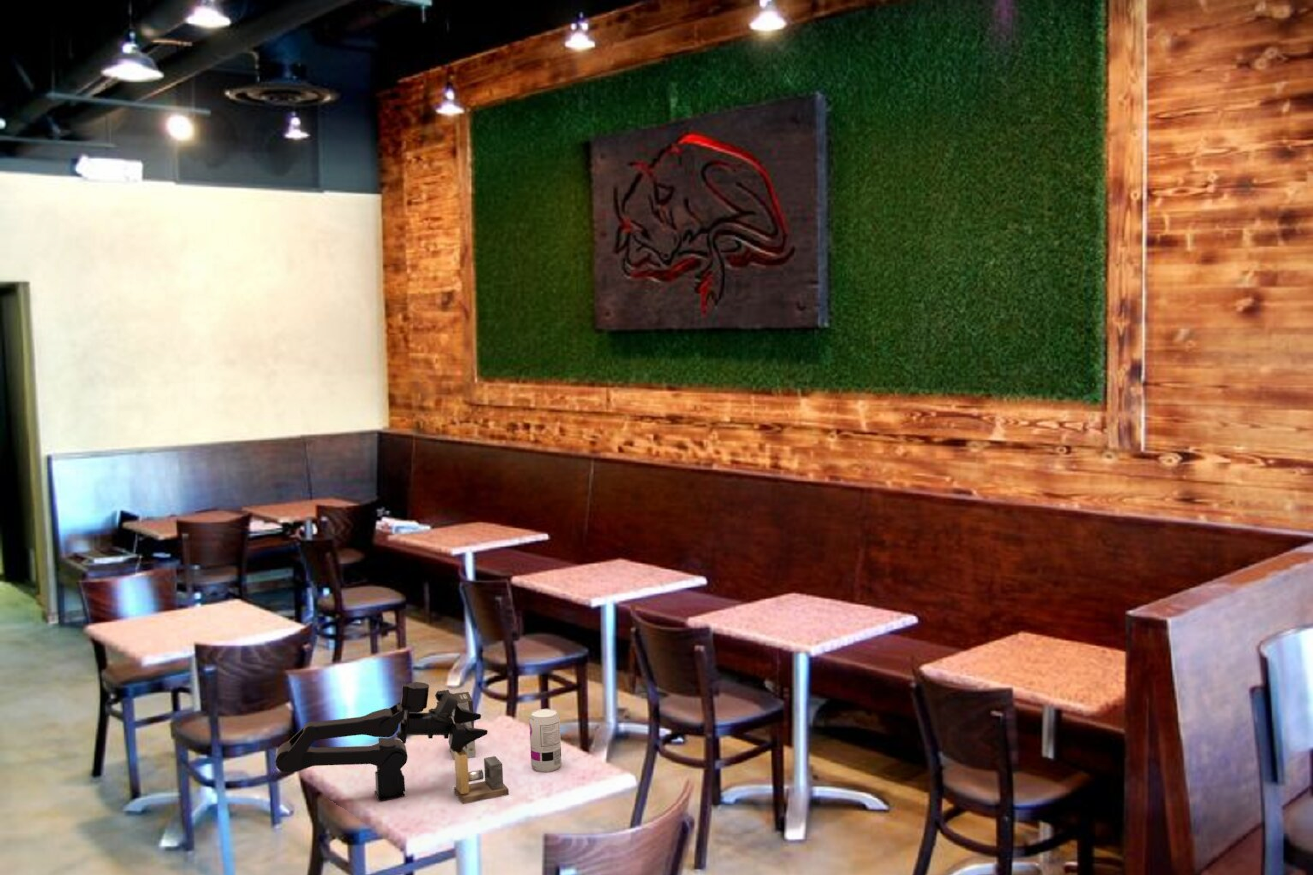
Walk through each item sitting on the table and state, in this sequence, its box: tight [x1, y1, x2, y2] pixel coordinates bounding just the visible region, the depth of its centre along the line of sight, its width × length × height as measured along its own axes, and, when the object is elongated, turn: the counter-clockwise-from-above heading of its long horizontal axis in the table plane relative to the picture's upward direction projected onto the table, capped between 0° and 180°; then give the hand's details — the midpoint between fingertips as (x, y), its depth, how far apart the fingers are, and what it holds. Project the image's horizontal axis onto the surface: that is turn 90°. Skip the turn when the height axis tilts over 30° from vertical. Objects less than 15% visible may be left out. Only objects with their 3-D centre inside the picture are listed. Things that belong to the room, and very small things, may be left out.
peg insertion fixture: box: [453, 755, 510, 804], centre depth 305 cm, size 12×8×8 cm, turn 115°
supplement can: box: [528, 708, 562, 773], centre depth 322 cm, size 8×8×15 cm
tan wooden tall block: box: [454, 749, 485, 794], centre depth 304 cm, size 6×5×10 cm
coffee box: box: [449, 691, 476, 760], centre depth 334 cm, size 9×6×16 cm
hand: (484, 724), depth 313 cm, fingers open, 8 cm apart
